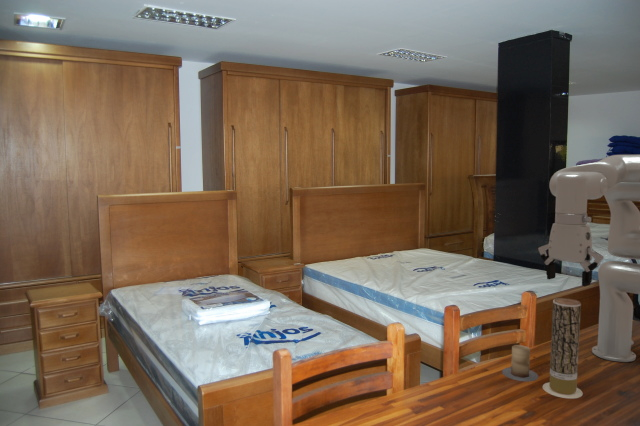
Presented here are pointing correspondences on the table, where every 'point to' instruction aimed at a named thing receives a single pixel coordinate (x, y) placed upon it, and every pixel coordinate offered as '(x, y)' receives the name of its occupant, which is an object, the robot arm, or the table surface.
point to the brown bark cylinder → (565, 345)
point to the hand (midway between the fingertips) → (568, 281)
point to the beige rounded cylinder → (520, 361)
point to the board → (531, 377)
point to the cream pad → (552, 392)
